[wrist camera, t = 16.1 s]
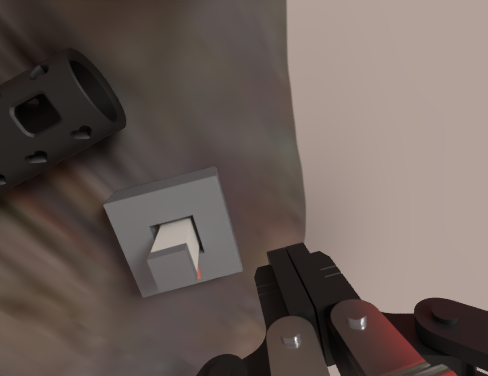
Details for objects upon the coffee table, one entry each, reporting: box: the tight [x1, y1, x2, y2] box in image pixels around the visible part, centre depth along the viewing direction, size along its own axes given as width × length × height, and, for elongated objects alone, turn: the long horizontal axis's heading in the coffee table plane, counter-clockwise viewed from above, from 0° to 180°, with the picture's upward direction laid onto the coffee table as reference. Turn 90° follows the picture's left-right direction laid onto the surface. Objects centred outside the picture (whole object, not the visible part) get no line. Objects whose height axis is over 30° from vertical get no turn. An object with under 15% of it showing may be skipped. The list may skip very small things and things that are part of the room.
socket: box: [103, 166, 243, 298], centre depth 39 cm, size 14×14×6 cm
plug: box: [147, 215, 200, 292], centre depth 35 cm, size 4×4×11 cm
